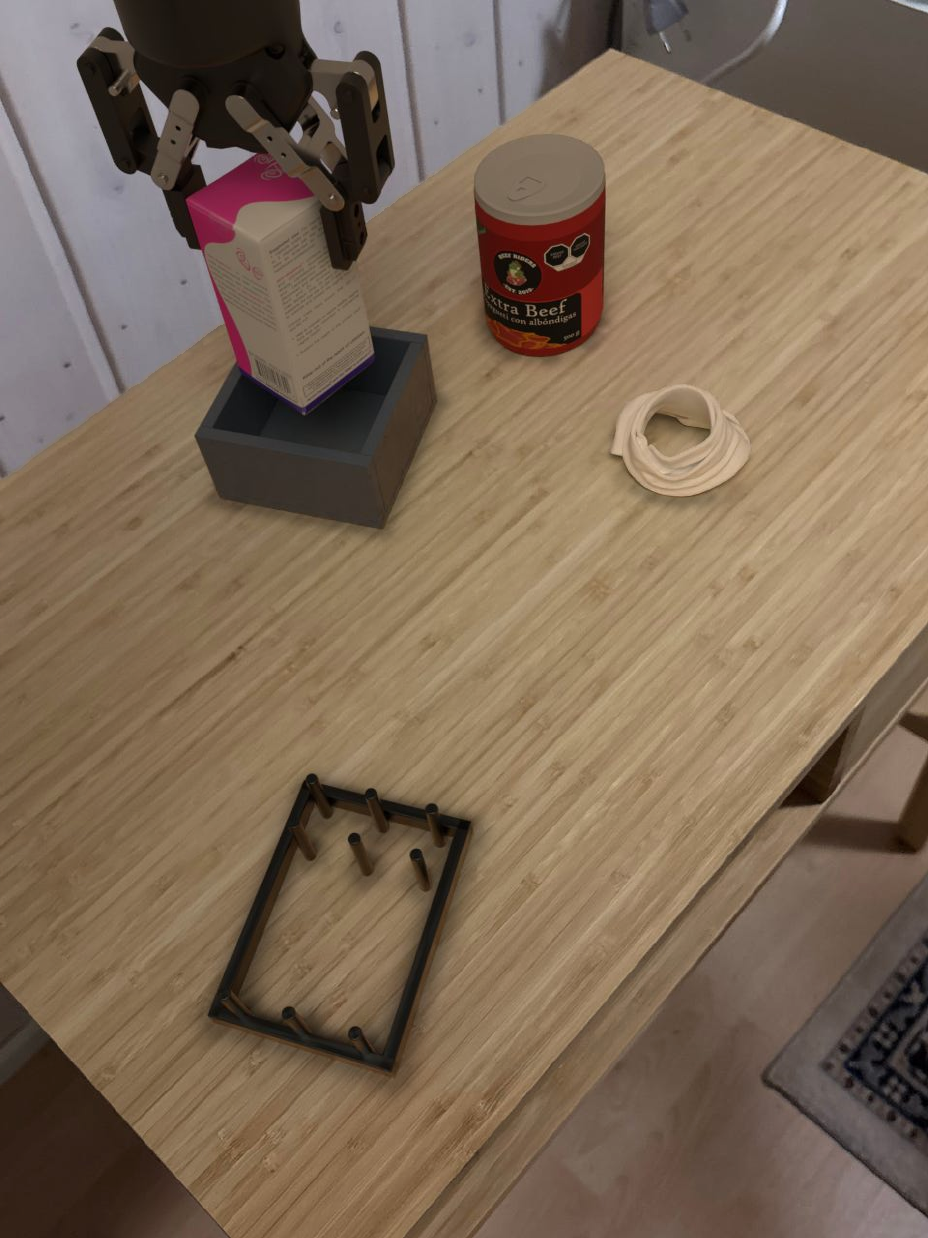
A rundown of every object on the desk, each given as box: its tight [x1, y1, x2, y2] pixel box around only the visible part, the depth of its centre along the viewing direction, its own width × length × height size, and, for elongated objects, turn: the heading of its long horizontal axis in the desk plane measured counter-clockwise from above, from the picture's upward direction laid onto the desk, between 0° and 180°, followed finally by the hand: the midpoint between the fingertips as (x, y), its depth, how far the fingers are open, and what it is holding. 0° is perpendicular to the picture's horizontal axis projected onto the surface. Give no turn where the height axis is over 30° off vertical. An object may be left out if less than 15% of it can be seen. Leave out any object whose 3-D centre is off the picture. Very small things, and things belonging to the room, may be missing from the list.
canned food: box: [473, 133, 607, 357], centre depth 71 cm, size 8×8×11 cm
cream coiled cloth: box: [609, 383, 752, 497], centre depth 67 cm, size 8×7×5 cm
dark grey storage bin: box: [194, 325, 438, 530], centre depth 69 cm, size 11×11×6 cm
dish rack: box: [207, 772, 474, 1079], centre depth 53 cm, size 12×9×4 cm
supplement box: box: [186, 153, 375, 415], centre depth 60 cm, size 6×6×12 cm
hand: (275, 249), depth 58 cm, fingers closed on supplement box, 7 cm apart
